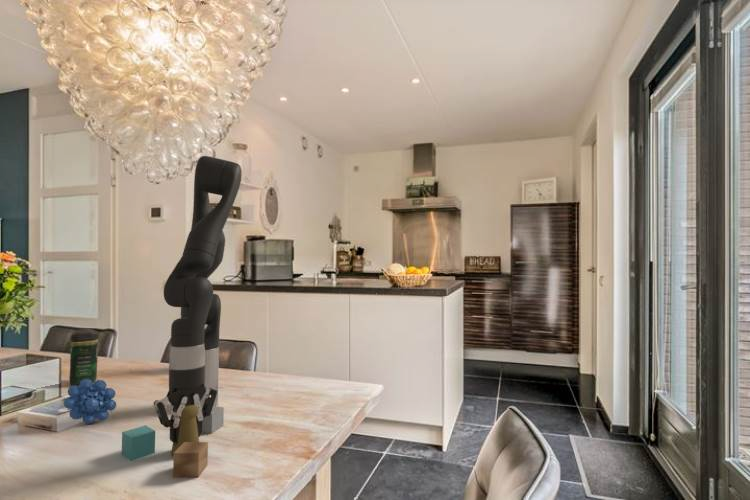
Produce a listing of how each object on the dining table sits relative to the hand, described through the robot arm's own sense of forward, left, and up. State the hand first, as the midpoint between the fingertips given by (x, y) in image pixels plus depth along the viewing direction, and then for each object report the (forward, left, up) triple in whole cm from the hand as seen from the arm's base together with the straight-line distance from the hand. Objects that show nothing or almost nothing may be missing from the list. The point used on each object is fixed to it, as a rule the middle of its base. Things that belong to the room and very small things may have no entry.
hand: (185, 439), depth 95 cm
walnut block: (+8, -6, -3) cm, 10 cm away
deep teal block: (-9, -5, -3) cm, 11 cm away
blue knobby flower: (-35, +1, -3) cm, 35 cm away
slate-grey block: (-5, +12, -3) cm, 13 cm away
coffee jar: (-75, +24, -3) cm, 79 cm away
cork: (0, 0, -3) cm, 3 cm away
